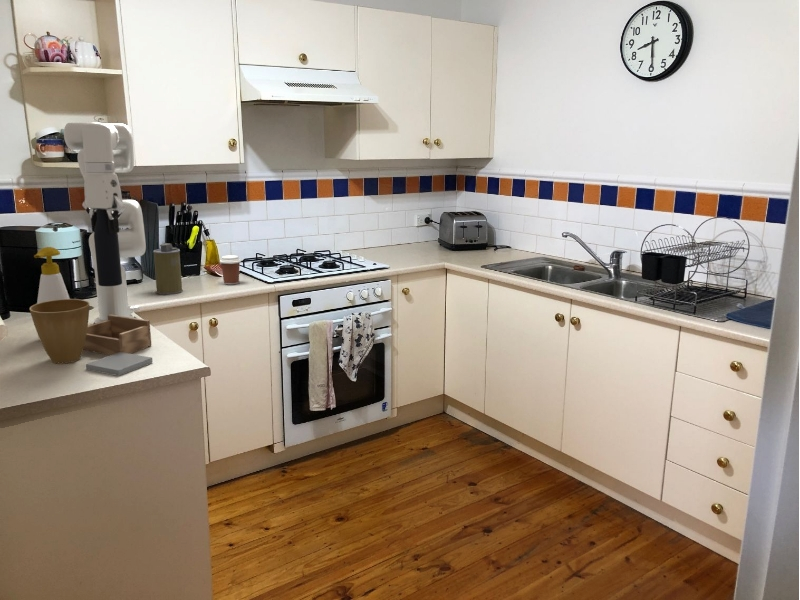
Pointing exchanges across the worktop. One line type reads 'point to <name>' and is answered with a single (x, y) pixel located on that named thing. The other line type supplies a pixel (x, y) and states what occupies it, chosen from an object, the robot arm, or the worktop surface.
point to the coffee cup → (230, 269)
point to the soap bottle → (50, 278)
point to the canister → (167, 270)
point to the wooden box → (118, 335)
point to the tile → (119, 363)
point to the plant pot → (62, 327)
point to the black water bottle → (106, 252)
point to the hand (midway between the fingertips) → (105, 231)
